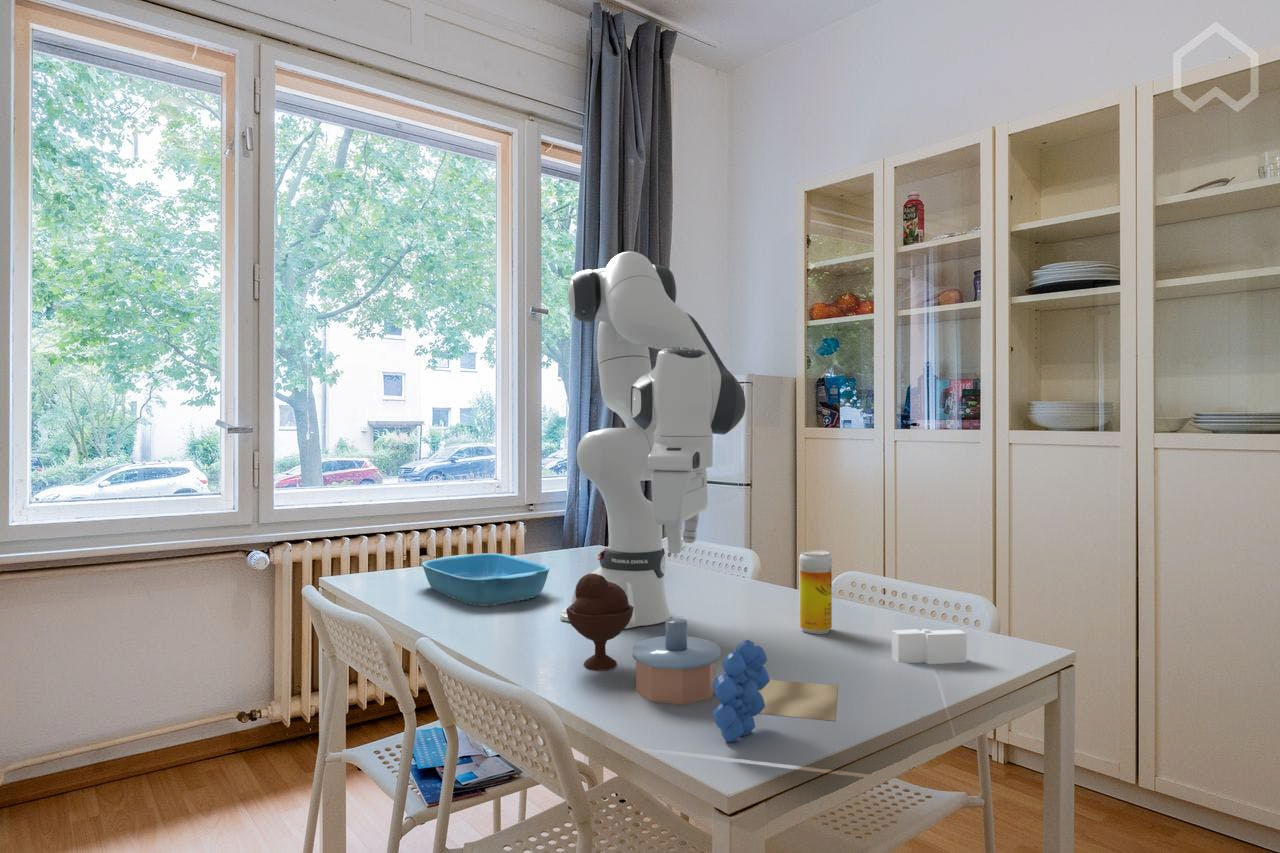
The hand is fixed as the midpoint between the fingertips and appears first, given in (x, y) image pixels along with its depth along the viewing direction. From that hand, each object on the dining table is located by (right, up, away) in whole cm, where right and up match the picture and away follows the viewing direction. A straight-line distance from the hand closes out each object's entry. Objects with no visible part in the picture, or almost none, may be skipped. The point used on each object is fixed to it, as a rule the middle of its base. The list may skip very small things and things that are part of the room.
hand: (682, 547), depth 114 cm
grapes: (+6, -22, -17) cm, 28 cm away
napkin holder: (+42, -22, +14) cm, 49 cm away
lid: (-1, -16, -1) cm, 16 cm away
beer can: (+27, -21, +32) cm, 47 cm away
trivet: (+15, -21, -5) cm, 26 cm away
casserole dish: (-43, -22, +66) cm, 82 cm away
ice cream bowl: (-13, -21, +12) cm, 28 cm away
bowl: (-1, -21, -1) cm, 21 cm away
